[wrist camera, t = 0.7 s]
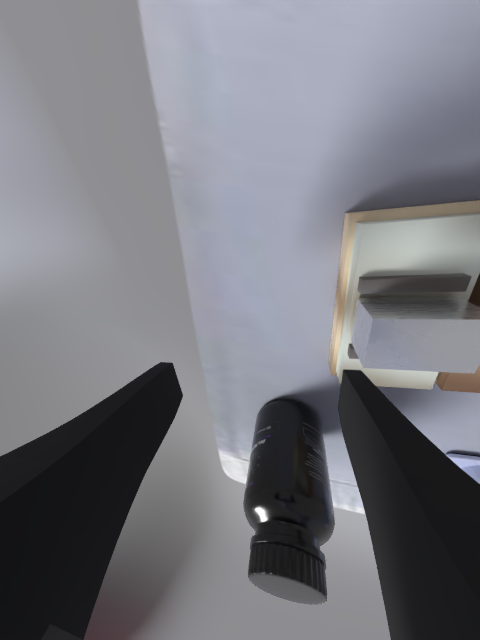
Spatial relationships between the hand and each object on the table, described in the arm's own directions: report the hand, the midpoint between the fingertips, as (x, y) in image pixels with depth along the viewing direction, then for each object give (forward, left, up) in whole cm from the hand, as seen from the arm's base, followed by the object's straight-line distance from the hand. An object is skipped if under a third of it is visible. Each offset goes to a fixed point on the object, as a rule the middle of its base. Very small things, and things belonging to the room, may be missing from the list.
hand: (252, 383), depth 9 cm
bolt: (0, -8, -6) cm, 10 cm away
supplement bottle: (-14, -2, -10) cm, 17 cm away
